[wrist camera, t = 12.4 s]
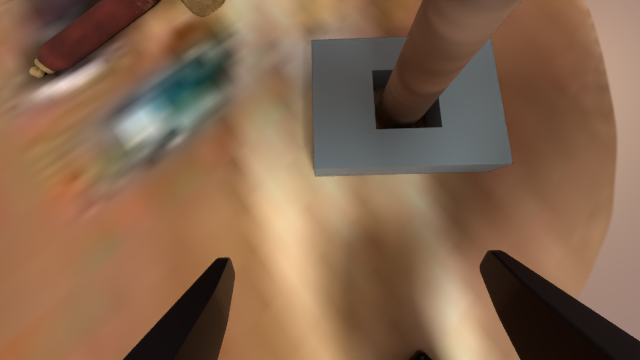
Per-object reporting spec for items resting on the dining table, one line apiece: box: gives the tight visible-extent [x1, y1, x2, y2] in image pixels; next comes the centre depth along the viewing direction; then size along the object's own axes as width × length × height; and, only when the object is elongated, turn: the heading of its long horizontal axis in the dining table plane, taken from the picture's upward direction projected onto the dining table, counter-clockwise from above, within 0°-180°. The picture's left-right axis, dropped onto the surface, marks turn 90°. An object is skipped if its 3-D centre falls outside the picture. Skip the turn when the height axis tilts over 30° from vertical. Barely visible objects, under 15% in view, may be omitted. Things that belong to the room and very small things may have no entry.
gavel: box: [30, 0, 224, 78], centre depth 26 cm, size 21×5×10 cm
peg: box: [376, 0, 522, 129], centre depth 17 cm, size 4×4×15 cm
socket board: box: [312, 37, 513, 176], centre depth 23 cm, size 12×16×3 cm
